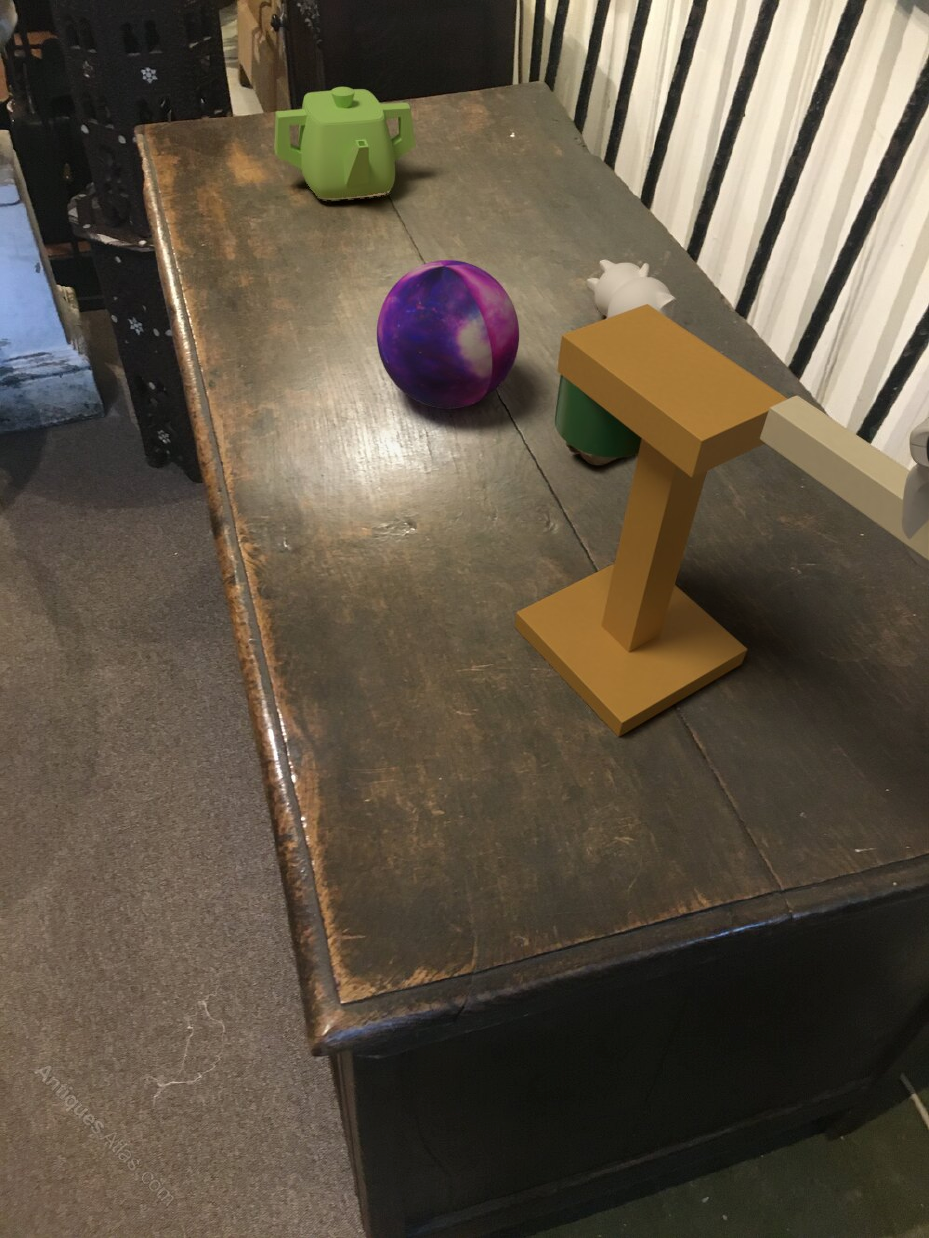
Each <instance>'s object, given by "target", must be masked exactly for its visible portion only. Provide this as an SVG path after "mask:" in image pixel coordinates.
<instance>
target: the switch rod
mask: <svg viewBox="0 0 929 1238" xmlns="http://www.w3.org/2000/svg"><path fill="white" fill-rule="evenodd" d="M760 440H762V441H763V442H764V443H765V445H767V446H769V447H770V448H771V449H772V450H774V451H776V452H777V453H778V454H780V455H781V456H782V457H783V458H785V459H787V460H788V461H789V462H791V463H792V464H793V465H795V466H796V467H797V468H799V469H800V470H802V471H803V472H804V473H806V474H807V475H809V476H810V477H812V478H813V479H814V480H816V481H817V482H819V483H820V484H821V485H822V486H824V487H825V488H827V489H828V490H829V491H831V492H832V493H834V494H835V495H836V496H837V497H839V498H841V499H842V500H843V501H844V502H846V503H848V504H849V505H851V506H852V507H853V508H855V509H856V510H857V511H858V512H859V513H861V514H863V515H864V516H865V517H866V518H868V519H870V520H871V521H873V523H875V524H877V525H878V526H880V527H881V528H882V529H884V530H885V531H886V532H887V533H889V534H891V535H892V536H893V537H895V538H896V539H897V540H899V541H900V542H902V544H903V543H905V544H906V545H907V546H909V547H910V548H911V549H913V550H914V551H916V552H917V553H918V554H920V555H921V556H923V557H924V558H925V559H927V560H928V561H929V520H928V521H927V522H926V523H925V524H924V525H923V526H922V527H921V528H920V529H919V530H918V531H917V532H916V534H915V535H914V536H913V537H912V538H911V539H908V538H907V536H906V535H905V533H904V532H903V528H902V504H903V493H904V485H905V481H906V478H907V475H908V473H909V472H910V470H911V469H910V470H909V468H907V467H905V466H904V465H903V464H901V463H899V462H897V461H896V460H895V459H893V458H892V457H890V456H889V455H887V454H886V453H884V452H883V451H882V450H880V449H878V448H876V446H874V445H872V444H871V443H869V442H868V441H866V440H865V439H863V438H862V437H861V436H859V435H857V434H856V433H855V432H853V431H851V430H850V429H848V428H847V427H845V426H844V425H842V424H841V423H840V422H838V421H837V420H835V419H833V418H832V417H831V416H829V415H828V414H826V413H824V412H823V411H821V410H820V409H818V408H817V407H816V406H814V405H812V404H811V403H810V402H808V401H806V400H805V399H803V397H801V396H799V395H794V396H792V397H790V398H787V400H785V401H783V402H781V403H778V404H776V405H774V406H772V407H770V409H769V412H768V415H767V418H766V421H765V424H764V427H763V430H762V433H761V436H760Z"/></svg>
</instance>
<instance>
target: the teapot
mask: <svg viewBox="0 0 929 1238" xmlns="http://www.w3.org/2000/svg"><path fill="white" fill-rule="evenodd" d="M303 96H304V97H303V100H302V104H301V105H302V106H301V108H300V109H289V110H287V109H286V110H277V111H275V113H274V114H275V116H274V141H273V143H274V144H273V151H274V154H275V155H276V157H277V159H278V158H279V159H280V160H282V161H284V162H286V163H288V164H290V165H292V166H294V167H296V168H297V169H300V172H301V174H302V177H303V179H304V181H305V183H306V185H307V184H308V185H307V187H308V186H309V187H310V188H309V187H308V188H309V190H310V189H311V190H312V191H313V192H314V193H315V194H316V195H317V196H320V197H323V198H342V197H343V198H346V197H357V196H367V195H373V194H378V193H384V192H387V191H389V190H391V191H392V189H393V187H394V184H395V180H396V164H395V161H397V160H399V159H400V158H401V157H402V156H405V155H406V154H407V153H408V152H409V151H411V150H412V149H414V148H415V147H416V139H415V131H414V125H413V124H414V123H413V116H412V108H411V107H410V104H409V102H391V103H380V101H379V100H378V99H377V98H376V96H375V95H374V94H373V93H372V92H371V91H369V90H367V89H365V88H356V89H355V88H354V89H353V88H351V87H348V86H338V87H333V88H332V89H331V90H324V91H323V90H321V91H311V92H307V93H306V94H305V95H303ZM396 118H397V123H398V134H396V135H395V136H394V137H391V133H390V130H389V126H388V123H387V120H391V119H396ZM290 126H298V141H297V142H298V144H297V145H294V144H292V143H291V131H290ZM391 188H392V189H391ZM311 190H310V191H311ZM312 191H311V192H312ZM313 192H312V193H313ZM388 195H389V194H387V195H384V196H385V197H386V196H388ZM384 196H383V197H384ZM379 197H380V196H377V197H376V198H379ZM316 198H317V199H319V198H318V197H316ZM371 198H373V197H369V198H368V199H371ZM361 199H364V198H360V199H359V200H361ZM351 200H353V199H348V200H347V201H351ZM323 201H325V202H328V201H327V200H323ZM336 201H339V200H331V201H330V202H336Z"/></svg>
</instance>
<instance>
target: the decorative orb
mask: <svg viewBox="0 0 929 1238" xmlns="http://www.w3.org/2000/svg"><path fill="white" fill-rule="evenodd" d="M378 314H379V315H378V318H377V323H376V324H377V325H376V344H377V350H378V354H379V358H380V360H381V361H380V362H381V363H382V365H383V368H384V370H385V371H386V373H387V375H388V376H389V378H390V379H391V381H392V382H393V383H394V384H395V385H396V387H397V388H398V389H399V390H400V391H401V392H403V393H404V394H405V395H406V396H408V397H409V398H411V399H412V400H414V401H415V402H418V403H420V404H423V405H425V406H428V407H433V408H437V409H447V410H448V409H449V410H450V409H451V410H452V409H460V408H464V407H469V406H471V405H474V404H476V403H478V402H481V401H482V400H485V399H486V398H487V397H489V396H490V395H492V394H493V393H494V392H495V391H496V390H497V389H498V388H499V387H500V386H501V385H502V384H503V382H505V380H506V378H507V377H508V375H510V372H511V370H512V368H513V367H514V364H515V361H516V358H517V354H518V351H519V346H520V345H519V344H520V325H519V319H518V315H517V311H516V308H515V305H514V303H513V301H512V299H511V297H510V296H509V293H508V292H507V291H506V289H505V287H503V286H502V284H501V283H500V282H499V281H498V280H497V279H496V278H495V277H493V276H492V274H490V273H489V272H488V271H486V270H484V269H483V268H481V267H479V266H477V265H474V264H472V263H468V262H465V261H462V260H455V259H442V260H440V259H439V260H435V261H430V262H427V263H424V264H421V265H418V266H417V267H415V268H413V269H411V270H410V271H408V272H407V273H405V274H404V275H403V276H402V277H401V278H400V279H398V281H397V282H395V284H394V285H393V286H392V288H391V289H390V290H389V292H388V293H387V295H386V297H385V298H384V300H383V302H382V305H381V307H380V311H379V313H378Z"/></svg>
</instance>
